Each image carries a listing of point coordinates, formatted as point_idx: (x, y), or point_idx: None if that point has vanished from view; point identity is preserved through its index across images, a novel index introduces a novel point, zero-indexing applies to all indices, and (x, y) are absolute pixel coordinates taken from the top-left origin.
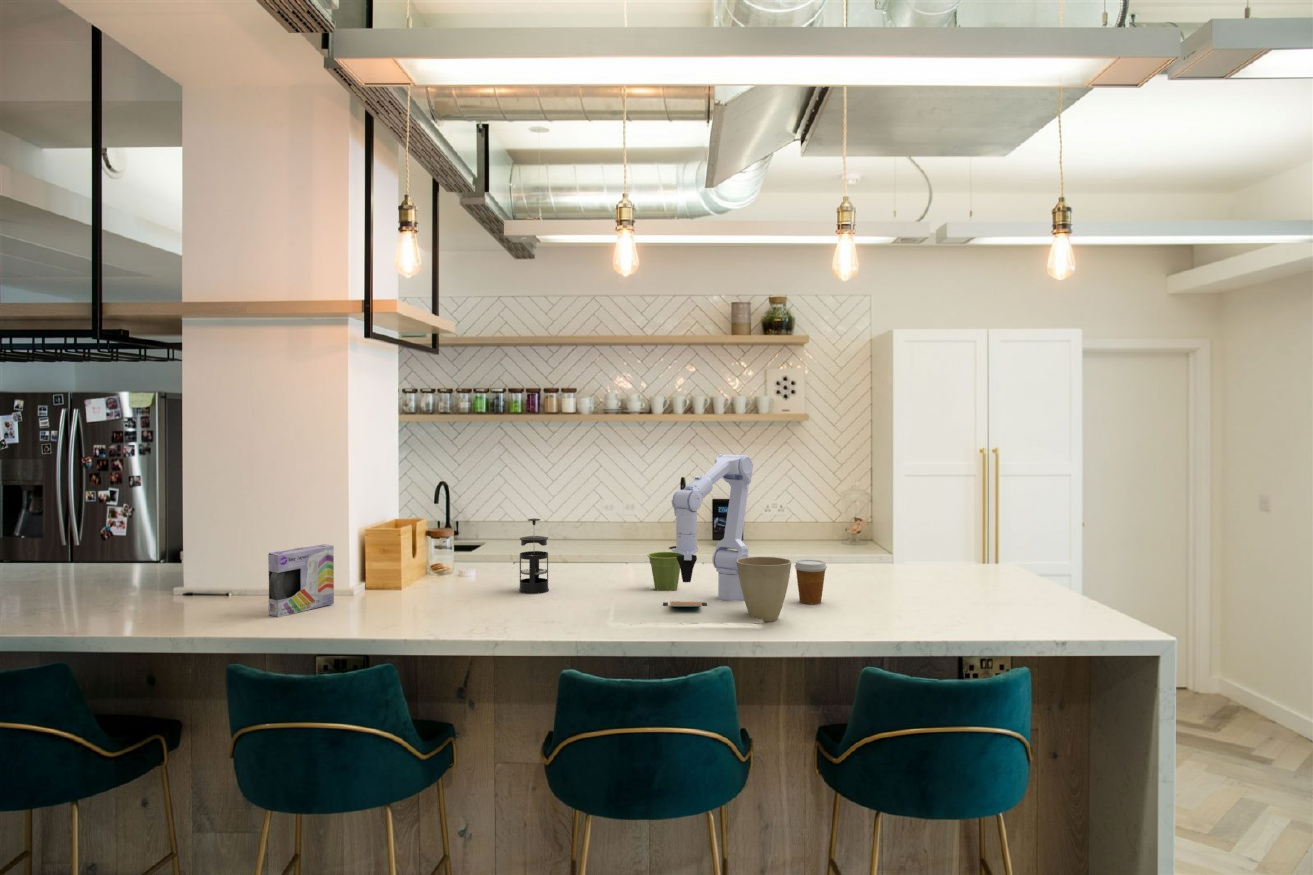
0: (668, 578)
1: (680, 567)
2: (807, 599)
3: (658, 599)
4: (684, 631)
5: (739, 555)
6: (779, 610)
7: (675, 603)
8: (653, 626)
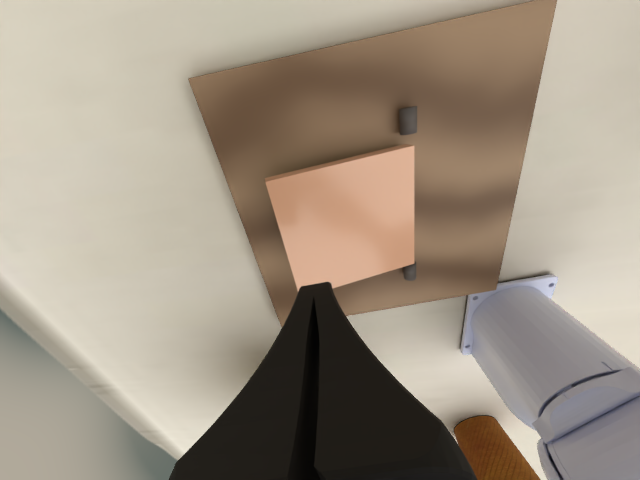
0: None
1: (251, 377)
2: (461, 435)
3: (621, 38)
4: (91, 245)
5: None
6: None
7: (271, 201)
8: (88, 123)
